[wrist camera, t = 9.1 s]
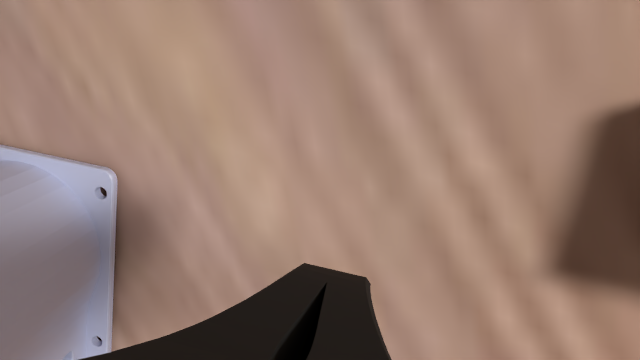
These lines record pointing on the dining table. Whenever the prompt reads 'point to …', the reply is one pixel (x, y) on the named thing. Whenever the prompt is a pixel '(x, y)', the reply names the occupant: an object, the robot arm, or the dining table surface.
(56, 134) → the dining table surface
